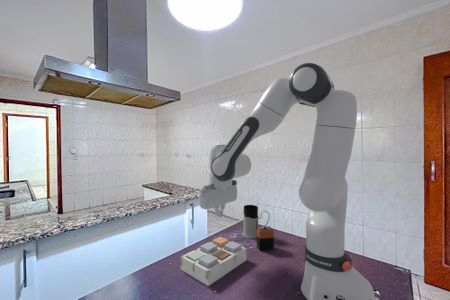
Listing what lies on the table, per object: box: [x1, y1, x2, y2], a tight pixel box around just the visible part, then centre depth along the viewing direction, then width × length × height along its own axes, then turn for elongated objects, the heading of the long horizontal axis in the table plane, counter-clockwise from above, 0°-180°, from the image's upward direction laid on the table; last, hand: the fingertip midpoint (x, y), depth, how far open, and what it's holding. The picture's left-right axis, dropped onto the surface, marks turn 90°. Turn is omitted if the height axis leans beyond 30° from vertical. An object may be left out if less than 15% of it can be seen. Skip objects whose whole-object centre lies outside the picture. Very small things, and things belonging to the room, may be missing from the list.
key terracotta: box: [211, 236, 229, 248], centre depth 93 cm, size 5×5×3 cm
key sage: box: [186, 251, 205, 262], centre depth 83 cm, size 5×5×3 cm
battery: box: [256, 225, 275, 252], centre depth 99 cm, size 4×7×10 cm, turn 101°
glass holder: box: [242, 204, 270, 239], centre depth 113 cm, size 9×14×15 cm, turn 67°
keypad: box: [180, 240, 248, 287], centre depth 86 cm, size 15×22×6 cm
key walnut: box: [212, 250, 230, 261], centre depth 83 cm, size 5×5×3 cm
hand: (219, 214), depth 93 cm, fingers closed
